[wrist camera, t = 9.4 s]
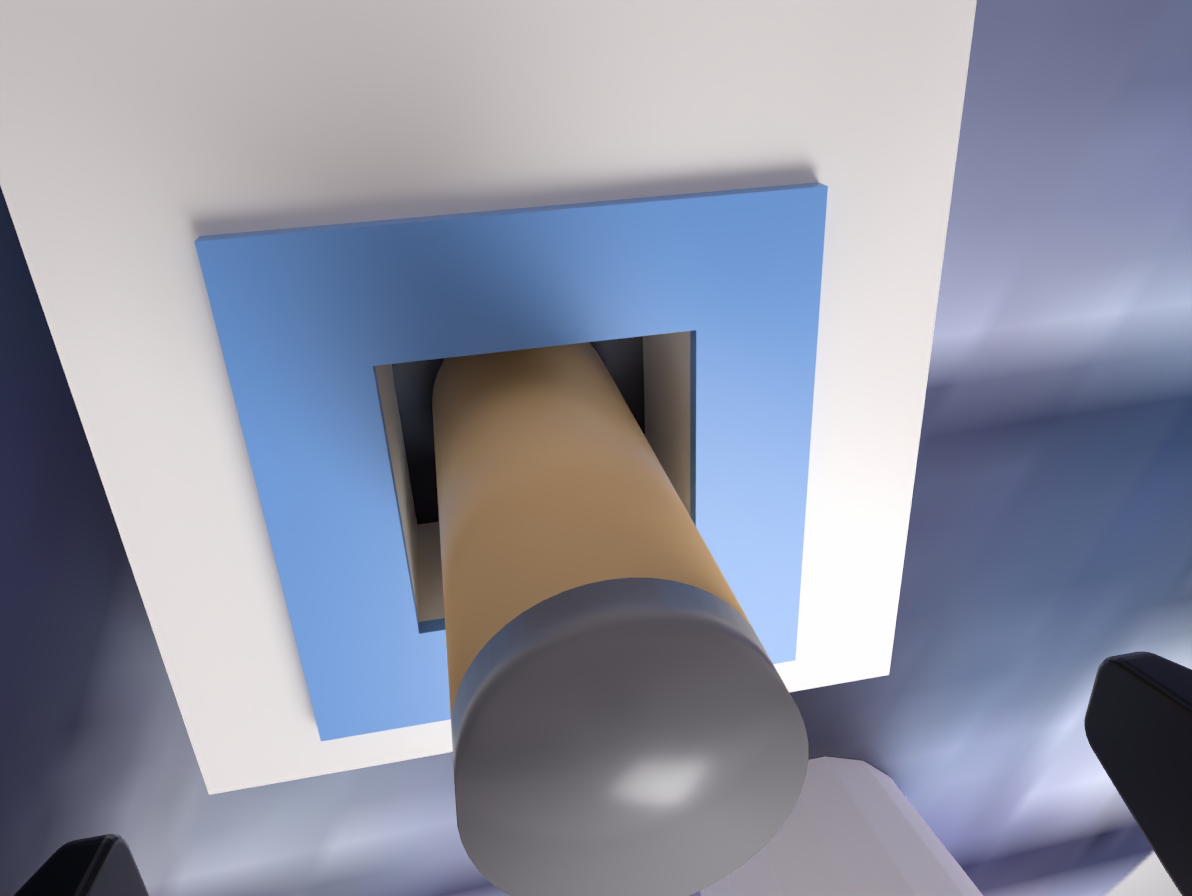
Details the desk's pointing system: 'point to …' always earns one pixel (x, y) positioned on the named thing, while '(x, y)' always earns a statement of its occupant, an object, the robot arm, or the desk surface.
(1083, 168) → the desk surface
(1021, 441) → the desk surface
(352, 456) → the block
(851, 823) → the white cylinder
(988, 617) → the desk surface
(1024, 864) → the desk surface
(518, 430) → the grey-capped tan cylinder
